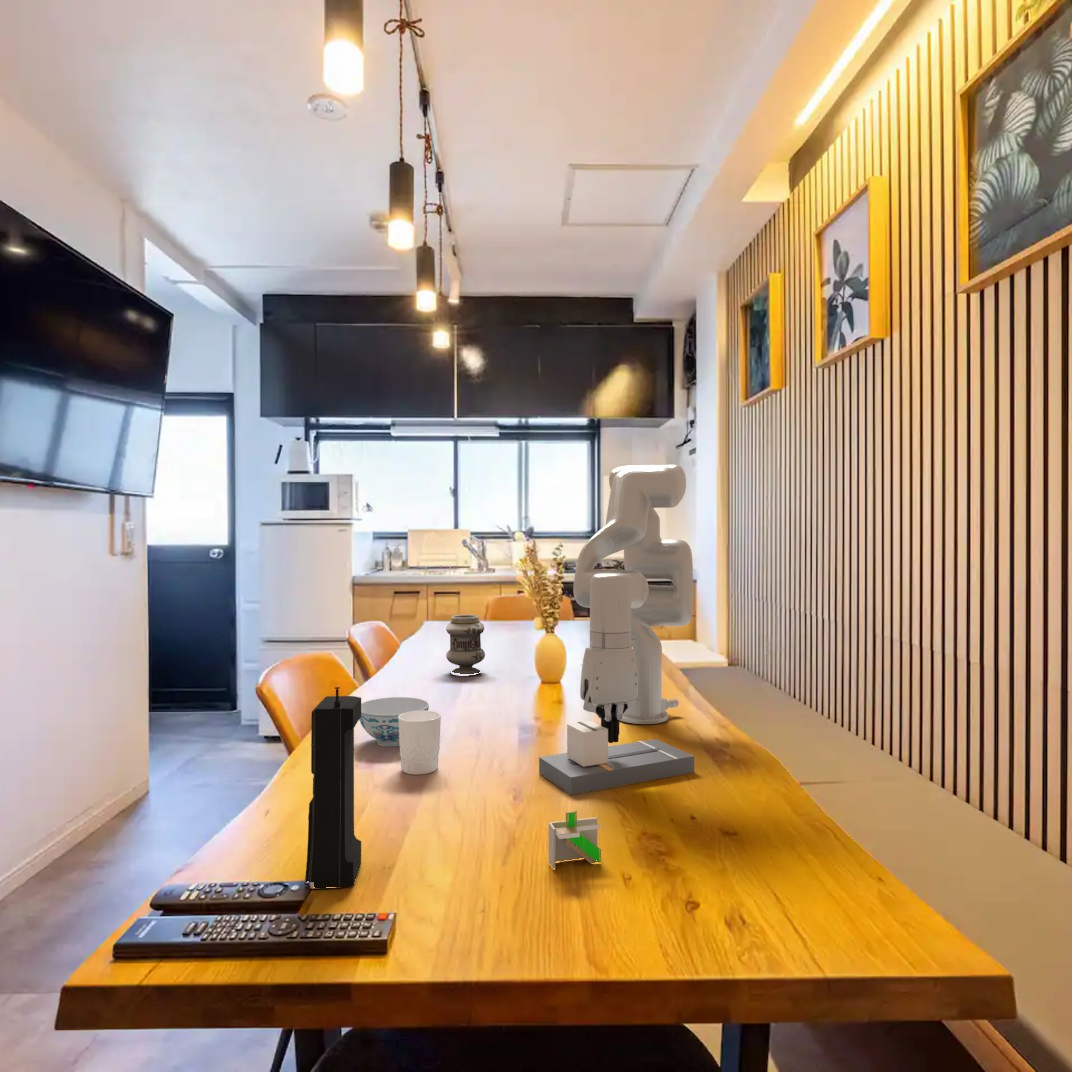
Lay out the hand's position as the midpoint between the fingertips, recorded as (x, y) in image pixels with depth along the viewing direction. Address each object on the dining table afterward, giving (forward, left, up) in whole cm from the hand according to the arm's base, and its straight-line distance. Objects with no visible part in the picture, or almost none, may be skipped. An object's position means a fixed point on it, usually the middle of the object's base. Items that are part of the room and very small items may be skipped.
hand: (610, 740), depth 131 cm
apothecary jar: (-9, -98, -6) cm, 99 cm away
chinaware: (+30, -37, -6) cm, 48 cm away
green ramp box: (+23, +28, -7) cm, 37 cm away
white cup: (+30, -18, -6) cm, 36 cm away
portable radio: (+52, +17, -6) cm, 56 cm away
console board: (-2, 0, -6) cm, 6 cm away
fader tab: (+5, 0, -3) cm, 6 cm away
